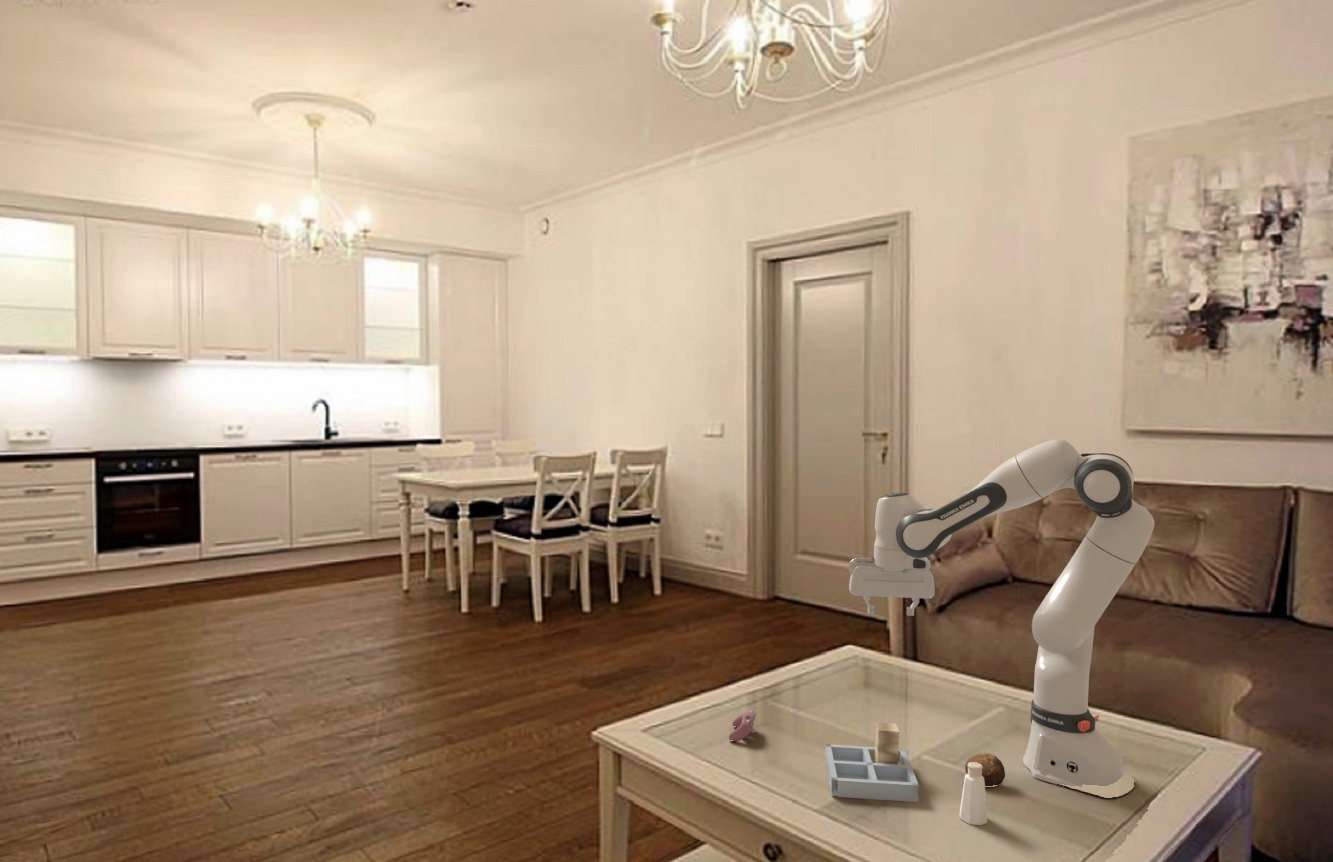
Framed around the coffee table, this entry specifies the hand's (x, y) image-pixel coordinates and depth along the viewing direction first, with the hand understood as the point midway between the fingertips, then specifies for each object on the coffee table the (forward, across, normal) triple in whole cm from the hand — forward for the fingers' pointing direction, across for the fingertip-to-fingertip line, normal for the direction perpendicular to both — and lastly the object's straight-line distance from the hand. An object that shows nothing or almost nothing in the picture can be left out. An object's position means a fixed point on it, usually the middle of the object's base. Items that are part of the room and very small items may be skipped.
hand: (890, 614), depth 210 cm
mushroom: (+29, +17, -25) cm, 42 cm away
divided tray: (+29, -8, -28) cm, 41 cm away
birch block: (+28, -4, -23) cm, 37 cm away
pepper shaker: (+29, +11, -42) cm, 52 cm away
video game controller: (+29, -35, -8) cm, 47 cm away
